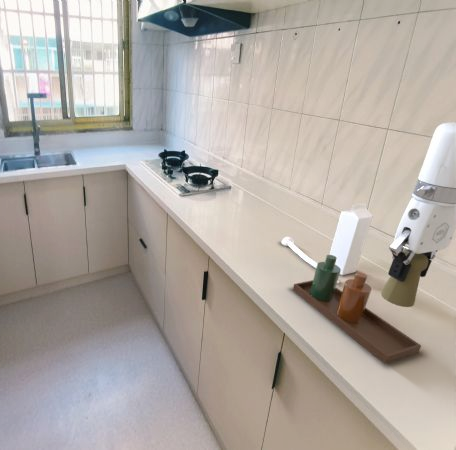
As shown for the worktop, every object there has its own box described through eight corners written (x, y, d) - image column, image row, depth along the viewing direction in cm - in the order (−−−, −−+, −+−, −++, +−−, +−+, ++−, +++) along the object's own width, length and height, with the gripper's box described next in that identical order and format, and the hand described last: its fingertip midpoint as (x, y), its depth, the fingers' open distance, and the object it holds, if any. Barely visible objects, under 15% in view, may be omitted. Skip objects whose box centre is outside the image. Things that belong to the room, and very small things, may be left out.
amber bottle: (347, 307, 88) (360, 267, 83) (366, 320, 83) (381, 279, 78) (330, 311, 86) (343, 270, 81) (349, 325, 81) (363, 283, 76)
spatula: (346, 283, 99) (349, 275, 98) (335, 285, 98) (337, 277, 97) (289, 242, 124) (290, 235, 123) (279, 242, 123) (280, 235, 122)
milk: (355, 272, 106) (377, 206, 97) (341, 275, 103) (362, 208, 94) (338, 262, 111) (358, 199, 102) (325, 266, 108) (343, 201, 99)
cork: (400, 290, 75) (417, 246, 71) (421, 306, 70) (441, 260, 65) (374, 290, 75) (390, 246, 70) (393, 307, 69) (412, 260, 65)
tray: (320, 284, 98) (322, 278, 98) (418, 353, 74) (421, 345, 73) (292, 290, 95) (294, 283, 94) (385, 364, 71) (388, 356, 70)
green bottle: (321, 288, 95) (331, 250, 91) (337, 299, 91) (348, 260, 86) (305, 291, 94) (315, 253, 89) (320, 303, 89) (331, 263, 84)
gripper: (428, 203, 57) (394, 293, 64) (491, 195, 62) (452, 278, 70) (387, 189, 63) (360, 273, 70) (447, 183, 69) (416, 261, 76)
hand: (406, 275), depth 70 cm, fingers closed on cork, 5 cm apart
